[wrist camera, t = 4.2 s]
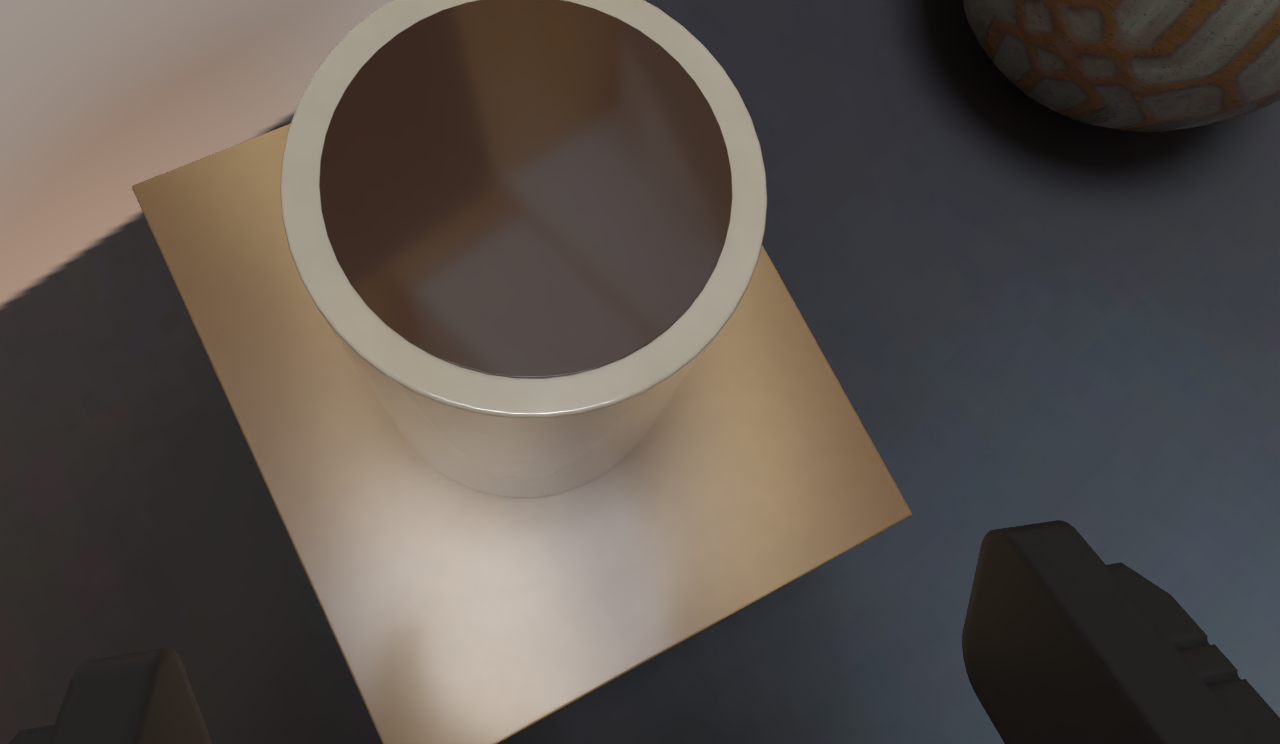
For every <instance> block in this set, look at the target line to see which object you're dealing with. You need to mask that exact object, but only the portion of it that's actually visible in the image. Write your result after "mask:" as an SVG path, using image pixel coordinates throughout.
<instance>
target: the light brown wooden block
mask: <svg viewBox="0 0 1280 744" xmlns="http://www.w3.org/2000/svg"><path fill="white" fill-rule="evenodd" d="M290 125H291V124H289V125H286V126H284V127H281V128H279V129H276V130H273V131H271V132H268V133H266V134H263V135H261V136H258V137H256V138H253V139H251V140H248V141H245V142H243V143H240V144H238V145H235V146H233V147H230V148H228V149H225V150H223V151H220V152H217V153H215V154H212V155H210V156H207V157H205V158H202V159H200V160H197V161H195V162H192V163H190V164H187V165H184V166H182V167H179V168H177V169H174V170H172V171H169V172H166V173H164V174H161V175H159V176H156V177H154V178H151V179H149V180H146V181H144V182H141V183H139V184H136V185H133V186H132V188H133V191H134V193H135V195H136V197H137V199H138V202H139V204H140V206H141V208H142V211H143V213H144V215H145V217H146V220H147V222H148V224H149V226H150V228H151V231H152V233H153V235H154V237H155V240H156V242H157V244H158V246H159V248H160V251H161V253H162V255H163V257H164V260H165V262H166V264H167V266H168V268H169V271H170V273H171V275H172V277H173V279H174V282H175V284H176V286H177V288H178V291H179V293H180V295H181V297H182V299H183V302H184V304H185V306H186V308H187V311H188V313H189V315H190V317H191V319H192V322H193V324H194V326H195V328H196V330H197V333H198V335H199V337H200V339H201V342H202V344H203V346H204V348H205V350H206V353H207V355H208V357H209V359H210V362H211V364H212V366H213V368H214V370H215V373H216V375H217V377H218V379H219V382H220V384H221V386H222V388H223V390H224V393H225V395H226V397H227V399H228V401H229V404H230V406H231V408H232V410H233V413H234V415H235V417H236V419H237V421H238V424H239V426H240V428H241V430H242V433H243V435H244V437H245V439H246V441H247V444H248V446H249V448H250V450H251V452H252V455H253V457H254V459H255V461H256V464H257V466H258V468H259V470H260V472H261V475H262V477H263V479H264V481H265V484H266V486H267V488H268V490H269V492H270V495H271V497H272V499H273V501H274V504H275V506H276V508H277V510H278V512H279V515H280V517H281V519H282V521H283V523H284V526H285V528H286V530H287V532H288V535H289V537H290V539H291V541H292V543H293V546H294V548H295V550H296V552H297V555H298V557H299V559H300V561H301V563H302V566H303V568H304V570H305V572H306V574H307V577H308V579H309V581H310V583H311V586H312V588H313V590H314V592H315V594H316V597H317V599H318V601H319V603H320V606H321V608H322V610H323V612H324V614H325V617H326V619H327V621H328V623H329V625H330V628H331V630H332V632H333V634H334V637H335V639H336V641H337V643H338V645H339V648H340V650H341V652H342V654H343V657H344V659H345V661H346V663H347V665H348V668H349V670H350V672H351V674H352V677H353V679H354V681H355V683H356V685H357V688H358V690H359V692H360V694H361V696H362V699H363V701H364V703H365V705H366V708H367V710H368V712H369V714H370V716H371V719H372V721H373V723H374V725H375V728H376V730H377V732H378V734H379V736H380V739H381V741H382V743H383V744H497V743H499V742H501V741H503V740H505V739H507V738H508V737H510V736H512V735H514V734H516V733H517V732H519V731H521V730H523V729H525V728H526V727H528V726H530V725H532V724H534V723H536V722H537V721H539V720H541V719H543V718H545V717H546V716H548V715H550V714H552V713H554V712H556V711H557V710H559V709H561V708H563V707H565V706H566V705H568V704H570V703H572V702H574V701H575V700H577V699H579V698H581V697H583V696H585V695H586V694H588V693H590V692H592V691H594V690H595V689H597V688H599V687H601V686H603V685H604V684H606V683H608V682H610V681H612V680H614V679H615V678H617V677H619V676H621V675H623V674H624V673H626V672H628V671H630V670H632V669H634V668H635V667H637V666H639V665H641V664H643V663H644V662H646V661H648V660H650V659H652V658H653V657H655V656H657V655H659V654H661V653H663V652H664V651H666V650H668V649H670V648H672V647H673V646H675V645H677V644H679V643H681V642H682V641H684V640H686V639H688V638H690V637H692V636H693V635H695V634H697V633H699V632H701V631H702V630H704V629H706V628H708V627H710V626H711V625H713V624H715V623H717V622H719V621H721V620H722V619H724V618H726V617H728V616H730V615H731V614H733V613H735V612H737V611H739V610H741V609H742V608H744V607H746V606H748V605H750V604H751V603H753V602H755V601H757V600H759V599H760V598H762V597H764V596H766V595H768V594H770V593H771V592H773V591H775V590H777V589H779V588H780V587H782V586H784V585H786V584H788V583H789V582H791V581H793V580H795V579H797V578H799V577H800V576H802V575H804V574H806V573H808V572H809V571H811V570H813V569H815V568H817V567H819V566H820V565H822V564H824V563H826V562H828V561H829V560H831V559H833V558H835V557H837V556H838V555H840V554H842V553H844V552H846V551H848V550H849V549H851V548H853V547H855V546H857V545H858V544H860V543H862V542H864V541H866V540H867V539H869V538H871V537H873V536H875V535H877V534H878V533H880V532H882V531H884V530H886V529H887V528H889V527H891V526H893V525H895V524H897V523H898V522H900V521H902V520H904V519H906V518H907V517H909V516H911V515H912V512H911V511H910V509H909V507H908V505H907V503H906V502H905V500H904V498H903V496H902V494H901V493H900V491H899V489H898V487H897V485H896V484H895V482H894V480H893V478H892V476H891V475H890V473H889V471H888V469H887V468H886V466H885V464H884V462H883V460H882V459H881V457H880V455H879V453H878V451H877V450H876V448H875V446H874V444H873V442H872V441H871V439H870V437H869V435H868V433H867V432H866V430H865V428H864V426H863V425H862V423H861V421H860V419H859V417H858V416H857V414H856V412H855V410H854V408H853V407H852V405H851V403H850V401H849V399H848V398H847V396H846V394H845V392H844V390H843V389H842V387H841V385H840V383H839V382H838V380H837V378H836V376H835V374H834V373H833V371H832V369H831V367H830V365H829V364H828V362H827V360H826V358H825V356H824V355H823V353H822V351H821V349H820V347H819V346H818V344H817V342H816V340H815V339H814V337H813V335H812V333H811V331H810V330H809V328H808V326H807V324H806V322H805V321H804V319H803V317H802V315H801V313H800V312H799V310H798V308H797V306H796V304H795V303H794V301H793V299H792V297H791V296H790V294H789V292H788V290H787V288H786V287H785V285H784V283H783V281H782V279H781V278H780V276H779V274H778V272H777V270H776V269H775V267H774V265H773V263H772V261H771V260H770V258H769V256H768V254H767V253H766V251H765V249H764V247H763V245H762V246H761V250H760V255H759V259H758V262H757V264H756V267H755V270H754V272H753V275H752V278H751V280H750V283H749V286H748V288H747V290H746V291H745V293H744V295H743V297H742V299H741V300H740V302H739V304H738V306H737V308H736V310H735V311H734V313H733V314H732V316H731V317H730V319H729V320H728V321H727V323H726V324H725V326H724V327H723V328H722V330H721V331H720V333H719V334H718V335H717V337H716V338H715V340H714V341H713V342H712V344H711V345H710V347H709V348H708V349H707V351H706V352H705V354H704V355H703V356H702V358H701V359H700V360H699V362H698V363H697V365H696V366H695V367H694V369H693V370H692V372H691V373H690V374H689V376H688V377H687V379H686V380H685V381H684V383H683V384H682V386H681V387H680V388H679V390H678V391H677V393H676V394H675V395H674V397H673V398H672V400H671V401H670V402H669V404H668V405H667V407H666V408H665V409H664V411H663V412H662V414H661V415H660V416H659V418H658V419H657V420H656V422H655V423H654V425H653V426H652V427H651V429H650V430H649V432H648V433H647V434H646V436H645V437H644V438H643V440H642V441H641V442H640V444H639V445H638V446H637V447H636V448H635V449H634V450H633V451H632V453H631V454H630V455H629V456H628V457H627V458H626V459H625V460H624V461H622V462H621V463H620V464H618V465H617V466H616V467H615V468H613V469H612V470H611V471H610V472H608V473H606V474H605V475H603V476H601V477H600V478H598V479H596V480H594V481H593V482H591V483H588V484H586V485H584V486H581V487H579V488H577V489H574V490H571V491H567V492H564V493H560V494H556V495H551V496H544V497H537V498H511V497H503V496H495V495H491V494H487V493H483V492H479V491H475V490H473V489H470V488H468V487H465V486H463V485H460V484H458V483H456V482H454V481H452V480H450V479H449V478H447V477H445V476H443V475H442V474H440V473H438V472H437V471H436V470H434V469H433V468H432V467H430V466H429V465H428V464H426V463H425V462H424V461H423V460H422V459H421V458H420V457H419V456H418V455H417V454H416V453H415V452H414V451H413V450H412V449H411V448H410V447H409V446H408V445H407V443H406V442H405V441H404V440H403V438H402V437H401V436H400V434H399V433H398V432H397V430H396V429H395V427H394V426H393V424H392V422H391V421H390V419H389V418H388V416H387V415H386V413H385V412H384V410H383V409H382V407H381V406H380V404H379V402H378V401H377V399H376V398H375V396H374V395H373V393H372V392H371V390H370V389H369V387H368V385H367V384H366V382H365V381H364V379H363V378H362V376H361V375H360V373H359V372H358V370H357V369H356V367H355V365H354V364H353V362H352V361H351V359H350V358H349V356H348V355H347V353H346V352H345V350H344V348H343V347H342V345H341V344H340V342H339V341H338V339H337V338H336V336H335V335H334V333H333V331H332V330H331V328H330V327H329V325H328V324H327V322H326V321H325V319H324V318H323V316H322V315H321V313H320V311H319V310H318V308H317V307H316V305H315V303H314V301H313V300H312V298H311V296H310V294H309V293H308V291H307V289H306V287H305V285H304V284H303V282H302V280H301V278H300V275H299V273H298V270H297V268H296V265H295V262H294V260H293V257H292V255H291V252H290V249H289V245H288V240H287V236H286V232H285V227H284V223H283V216H282V204H281V192H280V186H281V171H282V158H283V153H284V149H285V144H286V139H287V135H288V130H289V127H290Z"/></svg>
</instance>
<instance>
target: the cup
mask: <svg viewBox="0 0 1280 744" xmlns="http://www.w3.org/2000/svg"><path fill="white" fill-rule="evenodd" d="M280 192H281V204H282V216H283V223H284V227H285V232H286V236H287V240H288V245H289V249H290V252H291V255H292V257H293V260H294V262H295V265H296V268H297V270H298V273H299V275H300V278H301V280H302V282H303V284H304V285H305V287H306V289H307V291H308V293H309V294H310V296H311V298H312V300H313V301H314V303H315V305H316V307H317V308H318V310H319V311H320V313H321V315H322V316H323V318H324V319H325V321H326V322H327V324H328V325H329V327H330V328H331V330H332V331H333V333H334V335H335V336H336V338H337V339H338V341H339V342H340V344H341V345H342V347H343V348H344V350H345V352H346V353H347V355H348V356H349V358H350V359H351V361H352V362H353V364H354V365H355V367H356V369H357V370H358V372H359V373H360V375H361V376H362V378H363V379H364V381H365V382H366V384H367V385H368V387H369V389H370V390H371V392H372V393H373V395H374V396H375V398H376V399H377V401H378V402H379V404H380V406H381V407H382V409H383V410H384V412H385V413H386V415H387V416H388V418H389V419H390V421H391V422H392V424H393V426H394V427H395V429H396V430H397V432H398V433H399V434H400V436H401V437H402V438H403V440H404V441H405V442H406V443H407V445H408V446H409V447H410V448H411V449H412V450H413V451H414V452H415V453H416V454H417V455H418V456H419V457H420V458H421V459H422V460H423V461H424V462H425V463H426V464H428V465H429V466H430V467H432V468H433V469H434V470H436V471H437V472H438V473H440V474H442V475H443V476H445V477H447V478H449V479H450V480H452V481H454V482H456V483H458V484H460V485H463V486H465V487H468V488H470V489H473V490H475V491H479V492H483V493H487V494H491V495H495V496H503V497H511V498H537V497H544V496H551V495H556V494H560V493H564V492H567V491H571V490H574V489H577V488H579V487H581V486H584V485H586V484H588V483H591V482H593V481H594V480H596V479H598V478H600V477H601V476H603V475H605V474H606V473H608V472H610V471H611V470H612V469H613V468H615V467H616V466H617V465H618V464H620V463H621V462H622V461H624V460H625V459H626V458H627V457H628V456H629V455H630V454H631V453H632V451H633V450H634V449H635V448H636V447H637V446H638V445H639V444H640V442H641V441H642V440H643V438H644V437H645V436H646V434H647V433H648V432H649V430H650V429H651V427H652V426H653V425H654V423H655V422H656V420H657V419H658V418H659V416H660V415H661V414H662V412H663V411H664V409H665V408H666V407H667V405H668V404H669V402H670V401H671V400H672V398H673V397H674V395H675V394H676V393H677V391H678V390H679V388H680V387H681V386H682V384H683V383H684V381H685V380H686V379H687V377H688V376H689V374H690V373H691V372H692V370H693V369H694V367H695V366H696V365H697V363H698V362H699V360H700V359H701V358H702V356H703V355H704V354H705V352H706V351H707V349H708V348H709V347H710V345H711V344H712V342H713V341H714V340H715V338H716V337H717V335H718V334H719V333H720V331H721V330H722V328H723V327H724V326H725V324H726V323H727V321H728V320H729V319H730V317H731V316H732V314H733V313H734V311H735V310H736V308H737V306H738V304H739V302H740V300H741V299H742V297H743V295H744V293H745V291H746V290H747V288H748V286H749V283H750V280H751V278H752V275H753V272H754V270H755V267H756V264H757V262H758V259H759V255H760V250H761V246H762V241H763V237H764V233H765V223H766V211H767V189H766V173H765V168H764V162H763V157H762V152H761V147H760V143H759V140H758V137H757V134H756V131H755V128H754V125H753V122H752V120H751V117H750V115H749V113H748V111H747V109H746V107H745V105H744V103H743V101H742V99H741V96H740V94H739V92H738V91H737V89H736V88H735V86H734V85H733V83H732V82H731V80H730V78H729V77H728V75H727V74H726V72H725V71H724V69H723V68H722V67H721V65H720V64H719V63H718V62H717V61H716V59H715V58H714V57H713V56H712V55H711V54H710V52H709V51H708V50H707V49H706V48H705V47H704V45H703V44H701V43H700V42H699V41H698V40H697V39H696V38H695V37H694V36H693V35H692V34H691V33H690V32H688V31H687V30H686V29H685V28H684V27H683V26H682V25H681V24H679V23H678V22H676V21H675V20H674V19H672V18H671V17H669V16H668V15H667V14H665V13H664V12H663V11H661V10H660V9H658V8H657V7H655V6H653V5H651V4H650V3H648V2H646V1H644V0H393V1H391V2H389V3H388V4H386V5H384V6H383V7H381V8H379V9H378V10H376V11H375V12H373V13H372V14H371V15H369V16H368V17H367V18H366V19H364V20H363V21H362V22H361V23H360V24H358V25H357V26H356V27H354V28H353V29H352V30H351V31H350V32H349V33H348V34H347V35H346V36H345V37H344V38H343V39H342V40H341V41H340V42H339V43H338V44H337V45H336V46H335V47H334V48H333V50H332V51H331V52H330V53H329V54H328V56H327V57H326V59H325V60H324V61H323V63H322V64H321V65H320V67H319V68H318V70H317V71H316V72H315V73H314V75H313V77H312V79H311V80H310V82H309V84H308V86H307V88H306V90H305V92H304V93H303V95H302V97H301V99H300V101H299V103H298V106H297V108H296V111H295V114H294V116H293V119H292V122H291V125H290V127H289V130H288V135H287V139H286V144H285V149H284V153H283V158H282V171H281V186H280Z"/></svg>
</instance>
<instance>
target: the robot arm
mask: <svg viewBox="0 0 1280 744" xmlns="http://www.w3.org/2000/svg"><path fill="white" fill-rule="evenodd" d="M962 648H963V657H964V662H965V667H966V670H967V674H968V677H969V680H970V683H971V685H972V687H973V690H974V691H975V693H976V695H977V697H978V699H979V700H980V702H981V704H982V706H983V707H984V709H985V711H986V712H987V714H988V716H989V717H990V719H991V721H992V723H993V724H994V726H995V728H996V729H997V731H998V733H999V734H1000V736H1001V738H1002V740H1003V741H1004V743H1005V744H1280V718H1279V717H1278V716H1277V714H1276V713H1275V712H1274V711H1273V710H1272V709H1271V708H1270V706H1269V705H1268V704H1267V703H1266V702H1265V701H1264V700H1263V699H1262V697H1261V696H1260V695H1259V694H1258V693H1257V692H1256V691H1255V689H1254V688H1253V687H1252V686H1251V685H1250V684H1249V683H1248V682H1247V680H1246V679H1243V680H1241V679H1240V678H1239V677H1238V674H1237V671H1238V670H1237V669H1236V668H1235V667H1234V666H1233V665H1232V663H1231V662H1230V661H1229V660H1228V659H1227V658H1226V657H1225V656H1224V654H1223V653H1222V652H1221V651H1220V650H1219V649H1218V648H1217V647H1216V645H1215V644H1214V645H1210V644H1209V643H1208V641H1207V635H1206V634H1205V633H1204V632H1203V631H1202V630H1201V628H1200V627H1199V626H1198V625H1197V624H1196V623H1195V622H1194V621H1193V619H1192V618H1191V617H1190V616H1189V615H1188V614H1187V613H1186V611H1185V610H1184V609H1183V608H1182V607H1181V606H1180V605H1179V604H1178V602H1177V601H1176V600H1175V599H1174V598H1173V597H1172V596H1171V595H1170V594H1169V593H1167V592H1165V591H1164V590H1162V589H1161V588H1159V587H1158V586H1156V585H1155V584H1153V583H1152V582H1150V581H1149V580H1147V579H1146V578H1144V577H1143V576H1141V575H1140V574H1138V573H1136V572H1135V571H1133V570H1132V569H1130V568H1129V567H1127V566H1126V565H1124V564H1123V563H1116V564H1110V565H1105V564H1104V562H1103V561H1102V560H1101V559H1100V558H1099V556H1098V555H1097V554H1096V553H1095V552H1094V551H1093V549H1092V548H1091V547H1090V546H1089V545H1088V543H1087V542H1086V541H1085V540H1084V539H1083V537H1082V536H1081V535H1080V534H1079V533H1078V532H1077V530H1076V529H1075V528H1074V527H1072V526H1071V525H1070V524H1068V523H1066V522H1064V521H1059V520H1057V521H1051V522H1044V523H1037V524H1030V525H1024V526H1017V527H1010V528H1003V529H996V530H991V531H990V532H988V533H987V534H986V535H985V537H984V539H983V541H982V545H981V549H980V553H979V558H978V563H977V567H976V572H975V577H974V582H973V586H972V591H971V596H970V600H969V605H968V610H967V615H966V619H965V624H964V629H963V635H962ZM9 744H212V741H211V739H210V736H209V733H208V730H207V728H206V725H205V722H204V720H203V717H202V714H201V712H200V709H199V706H198V704H197V701H196V698H195V695H194V693H193V690H192V687H191V685H190V682H189V679H188V677H187V674H186V671H185V669H184V666H183V663H182V661H181V659H180V657H179V655H178V653H177V652H176V651H175V650H174V649H171V648H167V649H160V650H154V651H147V652H140V653H133V654H126V655H119V656H113V657H106V658H99V659H92V660H86V661H84V662H82V663H81V664H80V665H79V666H78V667H77V669H76V670H75V672H74V674H73V677H72V679H71V681H70V684H69V687H68V690H67V692H66V695H65V698H64V701H63V703H62V706H61V709H60V712H59V714H58V717H57V720H56V723H55V725H52V726H46V727H39V728H33V729H26V730H20V731H19V732H18V733H17V734H16V736H15V737H14V738H13V739H12V740H11V741H10V743H9Z"/></svg>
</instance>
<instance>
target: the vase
mask: <svg viewBox="0 0 1280 744" xmlns="http://www.w3.org/2000/svg"><path fill="white" fill-rule="evenodd" d="M961 1H962V4H963V8H964V11H965V14H966V16H967V19H968V22H969V24H970V26H971V28H972V30H973V32H974V34H975V36H976V38H977V40H978V42H979V43H980V45H981V46H982V48H983V50H984V51H985V53H986V54H987V55H988V57H989V58H990V60H991V61H992V62H993V63H994V65H995V66H996V67H997V68H998V69H999V70H1000V72H1001V73H1002V74H1003V75H1004V76H1005V77H1006V78H1007V79H1008V80H1009V81H1010V82H1012V83H1013V84H1014V85H1015V86H1016V87H1017V88H1018V89H1020V90H1021V91H1022V92H1024V93H1025V94H1026V95H1027V96H1029V97H1030V98H1032V99H1033V100H1035V101H1036V102H1038V103H1040V104H1041V105H1043V106H1045V107H1047V108H1048V109H1050V110H1052V111H1054V112H1057V113H1059V114H1061V115H1063V116H1066V117H1068V118H1071V119H1074V120H1077V121H1080V122H1083V123H1086V124H1090V125H1094V126H1099V127H1104V128H1110V129H1118V130H1127V131H1145V132H1156V131H1169V130H1177V129H1185V128H1192V127H1199V126H1204V125H1209V124H1214V123H1217V122H1221V121H1224V120H1228V119H1231V118H1235V117H1238V116H1242V115H1245V114H1248V113H1251V112H1254V111H1256V110H1259V109H1261V108H1264V107H1266V106H1268V105H1270V104H1272V103H1275V102H1277V101H1279V100H1280V0H961Z"/></svg>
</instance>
